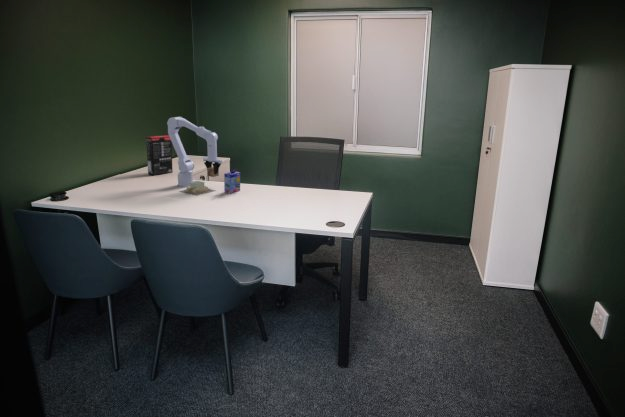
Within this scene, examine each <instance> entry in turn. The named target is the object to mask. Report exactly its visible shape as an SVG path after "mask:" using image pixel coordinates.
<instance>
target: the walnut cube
mask: <svg viewBox="0 0 625 417" xmlns="http://www.w3.org/2000/svg"><path fill="white" fill-rule="evenodd" d="M219 171H220V170H218V174H214V167H213V166H212V167H211V168H207V167H206V172H207V173H206V175H207V177H211V178H215V177H218V176H220V172H219Z"/></svg>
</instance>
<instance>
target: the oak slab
mask: <svg viewBox="0 0 625 417" xmlns="http://www.w3.org/2000/svg"><path fill="white" fill-rule="evenodd" d="M208 189H209V187H208V186H206V185H204V187H202V188H198V189H196V188H191V187H186V190H187V191H188V192H192V193H201V192H205V191H208Z"/></svg>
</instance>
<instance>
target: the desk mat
mask: <svg viewBox="0 0 625 417" xmlns="http://www.w3.org/2000/svg"><path fill="white" fill-rule="evenodd" d="M178 192H179V193H184V194H187V195H192V196H201V195H204V194H209V193H212V192H216V190H215V189H211V188H208V191H205V192H201V193H192V192H188V191H187V189H184V190H183V189H182V190H179V191H178Z"/></svg>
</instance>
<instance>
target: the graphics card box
mask: <svg viewBox="0 0 625 417" xmlns="http://www.w3.org/2000/svg"><path fill="white" fill-rule="evenodd" d="M145 138H146V139H145V140H146V156H147V157H146V158H147V160H146V162H147V174H148V175H151V176H157V175H163V174H172V173H173V171H174V170H173V150H172V146H173V144H172V141H171V139H170V137H169V134H168V135H167V134H166V135H155V136H153V135H152V136H146V137H145Z"/></svg>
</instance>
